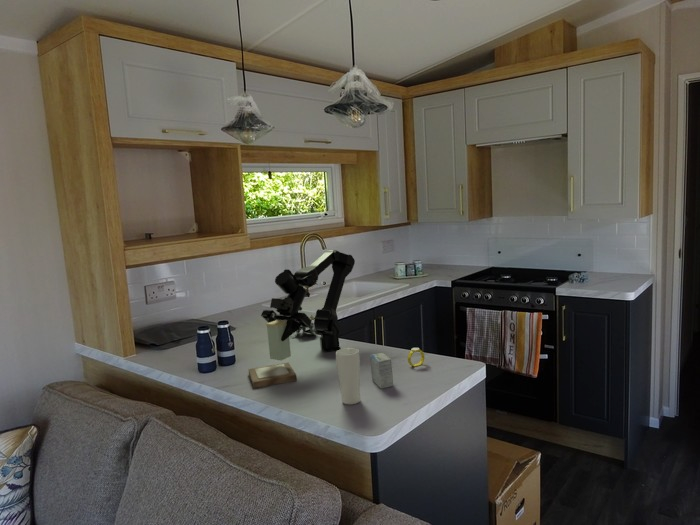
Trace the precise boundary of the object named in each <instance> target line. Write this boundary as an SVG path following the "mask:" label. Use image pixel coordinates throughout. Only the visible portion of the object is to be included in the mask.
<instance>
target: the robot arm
mask: <svg viewBox="0 0 700 525" xmlns="http://www.w3.org/2000/svg"><path fill="white" fill-rule="evenodd" d="M355 264H356V262H355V258H354V256H353V255H352V254H346V253H344V252H340V251H339V250H337V249H327V250H326V251H324V253H323V254H322V255H321V256H319V257H318V258H317V259H316V260H314V261H313V262H312V263H311V264H310V265H308V266H306V267H302V268H300V269H298V270H296V271H295V272H294V274H293V272H292V271H291V270H290V269H286V268H285V269H284V270H283V271H281V273H279V274H277V275H276V276H275V279H274V283H275V284H276V285H277V286H278V288H280V290H281V291H283V293H284V294H287V296H285V297H284V298H275V297H273V298H271V300H270V301H271V302H270V306H269V307H270V309H263V311H262V312H261V314H260V316H261V317H262V318H263V319H264V320H265V321H266V322H267V323H270V322H273V321H275V320H281V321H287V326H286V328H285V330H284V333H283V335H282V338H281V340H282V341H284V340H286V339H287V338H288V337H289V338H290V336H292V335H294V333H296V331H297V330H299V329H301V328H302V327H301V325H302V326H303V327H306V328H307V329H309V327H310V325H311V318H310V316H308V315H307V314H306V313H305V312H300V311H303V307H302V304H303V302H304V300H305V298H310V297H311V296H310V293H309V289H306V288H307V287H309V288H310V287H312V288H313V286H314V285H315V284H316V283H317V281H318V280H319V276H320V275H321V274H322V273H323V272H324V271H325V270H326V269H327V268H328V267H330V266H331V268H332V269H331V270H332V272H333V275H332V277H331V278H332V279H331V281H330V285H329V289H328V291H327V294H326V297H325V300H324V305H323V307H322V308H321V309H320V308H319V309H317V310H316V313H315V316H314V319H315V320H313V321H314V322H313V323H314V326H315V329H316V330H315V331H316V335H317V334H318V335H319V334H320V337H319V345H320V349H321V350H322V351H323V350H324V351H327V352H332V351H331V350H333V351H337V350H336V349H339V350H340V349H342V348H341V346H340V341H339V340H340V337H339V335H340V334H342V331H343V327H342V325H341V324H340V323H339V322H338V320H339V317H338V314H337V308H338V305H339V302H340V298H341V295H342V291H343V287H344V284H345V281H346V277H348V275H349V274H351V273H352V271H353V268H354V266H355ZM305 287H306V288H305ZM273 309H276V310H275V311H276V312H277V313H278V314H277V313H276V312H275V311H274V310H273ZM301 330H302V329H301ZM324 351H323V352H324Z"/></svg>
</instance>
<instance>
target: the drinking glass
mask: <svg viewBox="0 0 700 525" xmlns="http://www.w3.org/2000/svg"><path fill="white" fill-rule="evenodd" d="M335 351H336V352H335V362H336V363H335V364H336V370H337V376H338V383H339V388H340V394H341V401H342V403H343V404H345V405H357V404H358V403H359V402H361V358H360V350H359V349H357V348H354V347H353V348H352V347H345V348H341V349H339V350H335Z"/></svg>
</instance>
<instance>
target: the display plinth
mask: <svg viewBox="0 0 700 525" xmlns="http://www.w3.org/2000/svg"><path fill="white" fill-rule="evenodd" d="M248 376H249V378H250V381H252V382H251V384H252V387H253V389H256V387H258V388H262V387H261V386H263V387H268V386H267V385H269V386H274V385H273V384H275V385H279V383H280V384H285V383H284V382H286V383H290V381H291V382H295V381H296V380H297V379H298V378H297V373H296V372H295V370H294V369H293V367H292V366H291V364H290V362H282V363H276V364H271V365H266V366H265V365H264V366H258V367H254V368H253V367H252V368H248Z"/></svg>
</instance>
